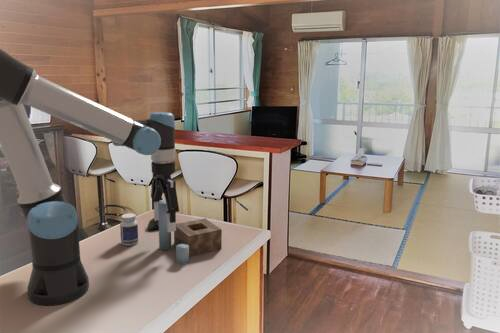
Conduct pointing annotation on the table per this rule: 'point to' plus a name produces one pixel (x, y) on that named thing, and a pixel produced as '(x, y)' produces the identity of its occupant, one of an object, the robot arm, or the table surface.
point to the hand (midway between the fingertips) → (164, 225)
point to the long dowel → (163, 227)
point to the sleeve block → (198, 236)
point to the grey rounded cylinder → (182, 253)
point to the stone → (153, 224)
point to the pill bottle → (129, 229)
